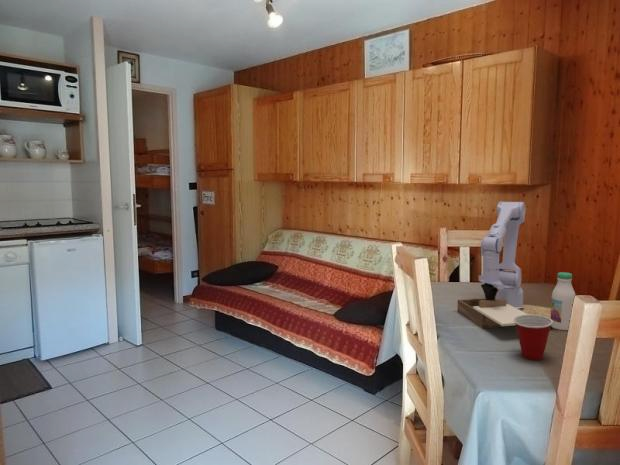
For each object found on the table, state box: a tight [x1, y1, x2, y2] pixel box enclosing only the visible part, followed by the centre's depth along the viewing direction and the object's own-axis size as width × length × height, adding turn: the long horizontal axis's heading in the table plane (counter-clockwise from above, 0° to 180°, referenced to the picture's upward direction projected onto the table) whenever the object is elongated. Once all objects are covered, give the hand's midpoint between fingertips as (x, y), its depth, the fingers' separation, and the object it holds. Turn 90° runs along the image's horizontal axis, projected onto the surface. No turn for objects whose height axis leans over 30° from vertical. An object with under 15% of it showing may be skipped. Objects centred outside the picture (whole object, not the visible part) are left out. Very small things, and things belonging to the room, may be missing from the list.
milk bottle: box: [550, 271, 576, 331], centre depth 160 cm, size 8×8×20 cm
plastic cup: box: [514, 313, 553, 361], centre depth 137 cm, size 11×11×12 cm
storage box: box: [457, 297, 517, 329], centre depth 174 cm, size 14×20×5 cm
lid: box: [473, 298, 529, 327], centre depth 160 cm, size 14×20×3 cm
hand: (490, 303), depth 171 cm, fingers closed
